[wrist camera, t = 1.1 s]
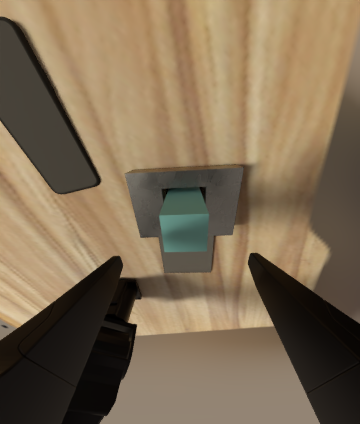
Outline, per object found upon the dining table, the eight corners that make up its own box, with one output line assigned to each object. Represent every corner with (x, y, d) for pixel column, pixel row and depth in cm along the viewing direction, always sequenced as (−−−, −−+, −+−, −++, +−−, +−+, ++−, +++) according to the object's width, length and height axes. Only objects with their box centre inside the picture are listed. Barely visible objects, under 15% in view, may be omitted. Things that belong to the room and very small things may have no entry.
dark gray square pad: (210, 270, 25) (210, 272, 24) (164, 271, 25) (164, 272, 25) (213, 233, 21) (213, 234, 20) (158, 234, 21) (158, 236, 21)
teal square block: (198, 212, 19) (206, 251, 12) (171, 212, 19) (164, 252, 12) (198, 185, 17) (209, 213, 10) (169, 187, 17) (159, 215, 10)
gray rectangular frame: (227, 225, 20) (232, 235, 18) (145, 227, 21) (140, 237, 18) (235, 164, 16) (243, 167, 14) (132, 169, 16) (124, 173, 14)
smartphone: (55, 196, 18) (-62, 41, 11) (61, 194, 19) (-45, 48, 12) (102, 185, 17) (5, 7, 10) (105, 183, 18) (18, 17, 11)
